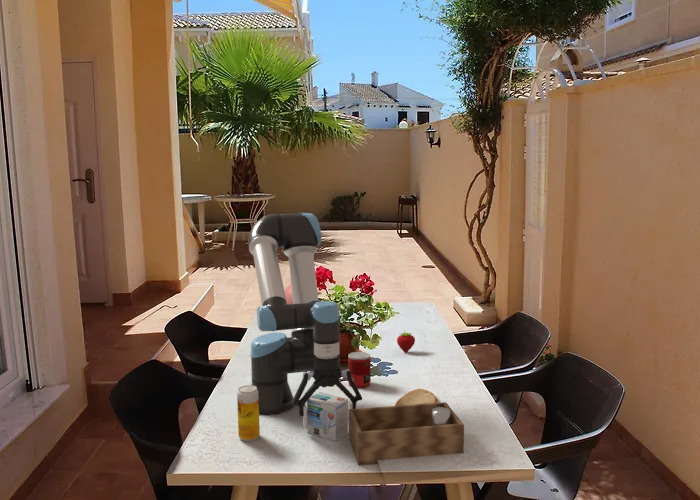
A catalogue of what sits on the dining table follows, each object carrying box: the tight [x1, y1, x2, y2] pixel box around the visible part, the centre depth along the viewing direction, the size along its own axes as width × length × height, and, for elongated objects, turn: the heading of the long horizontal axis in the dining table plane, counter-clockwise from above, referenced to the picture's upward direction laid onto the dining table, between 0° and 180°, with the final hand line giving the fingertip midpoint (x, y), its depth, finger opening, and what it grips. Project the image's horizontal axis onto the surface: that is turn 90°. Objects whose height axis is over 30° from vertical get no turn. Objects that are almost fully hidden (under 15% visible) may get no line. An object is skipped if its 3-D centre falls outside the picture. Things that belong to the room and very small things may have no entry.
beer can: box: [236, 384, 260, 442], centre depth 185 cm, size 6×6×15 cm
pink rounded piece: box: [284, 284, 322, 304], centre depth 329 cm, size 15×20×15 cm
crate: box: [348, 401, 465, 466], centre depth 179 cm, size 29×16×9 cm, turn 99°
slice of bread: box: [394, 388, 438, 406], centre depth 209 cm, size 18×18×4 cm
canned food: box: [347, 351, 372, 389], centre depth 227 cm, size 8×8×11 cm
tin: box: [432, 407, 450, 426], centre depth 180 cm, size 5×5×9 cm
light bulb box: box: [306, 391, 349, 442], centre depth 188 cm, size 11×7×11 cm, turn 56°
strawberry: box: [396, 331, 416, 353], centre depth 262 cm, size 6×8×10 cm
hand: (328, 424), depth 188 cm, fingers open, 13 cm apart
